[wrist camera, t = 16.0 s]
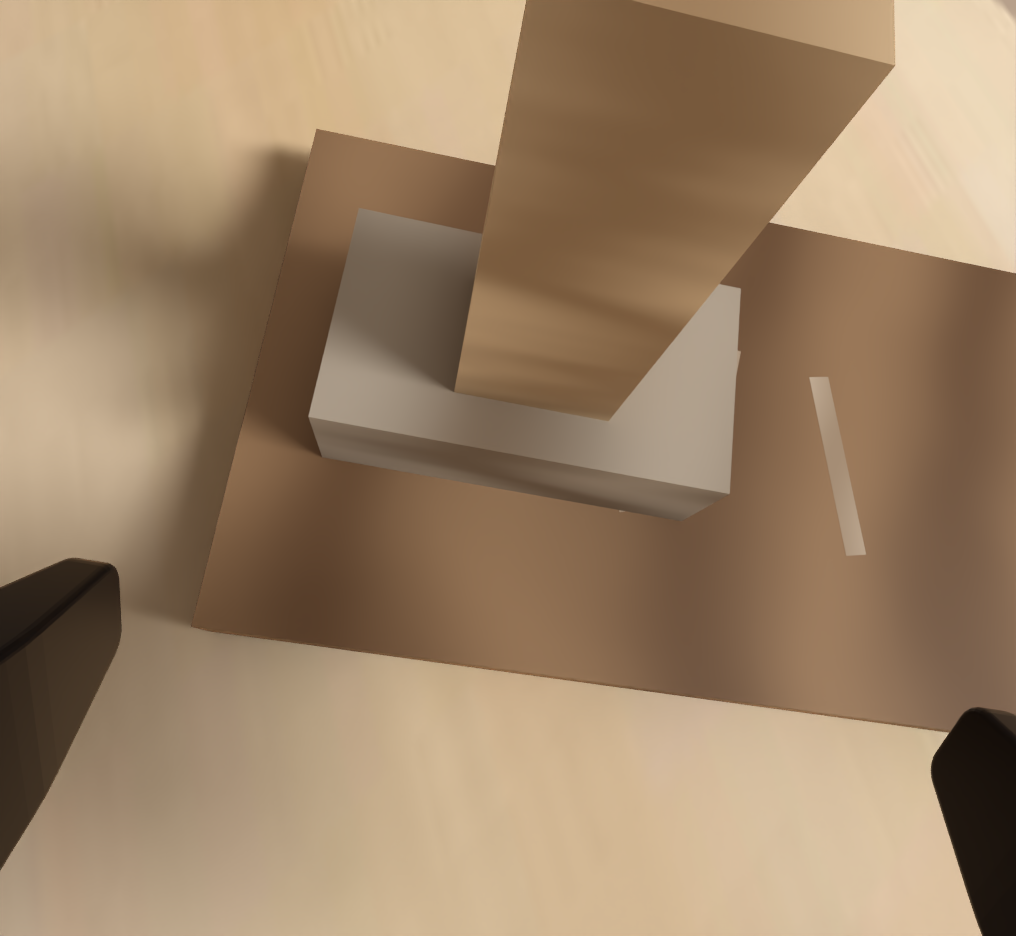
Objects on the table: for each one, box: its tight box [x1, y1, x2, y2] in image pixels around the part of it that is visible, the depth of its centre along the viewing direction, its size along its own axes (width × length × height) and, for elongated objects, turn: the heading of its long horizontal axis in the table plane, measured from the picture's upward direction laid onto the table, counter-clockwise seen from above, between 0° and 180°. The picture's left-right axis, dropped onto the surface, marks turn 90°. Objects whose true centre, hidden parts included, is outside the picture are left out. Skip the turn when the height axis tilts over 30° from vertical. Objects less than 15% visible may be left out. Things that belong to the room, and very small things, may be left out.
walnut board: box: [191, 129, 1016, 732], centre depth 18 cm, size 22×12×2 cm, turn 82°
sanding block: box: [308, 0, 895, 521], centre depth 11 cm, size 8×4×11 cm, turn 82°
